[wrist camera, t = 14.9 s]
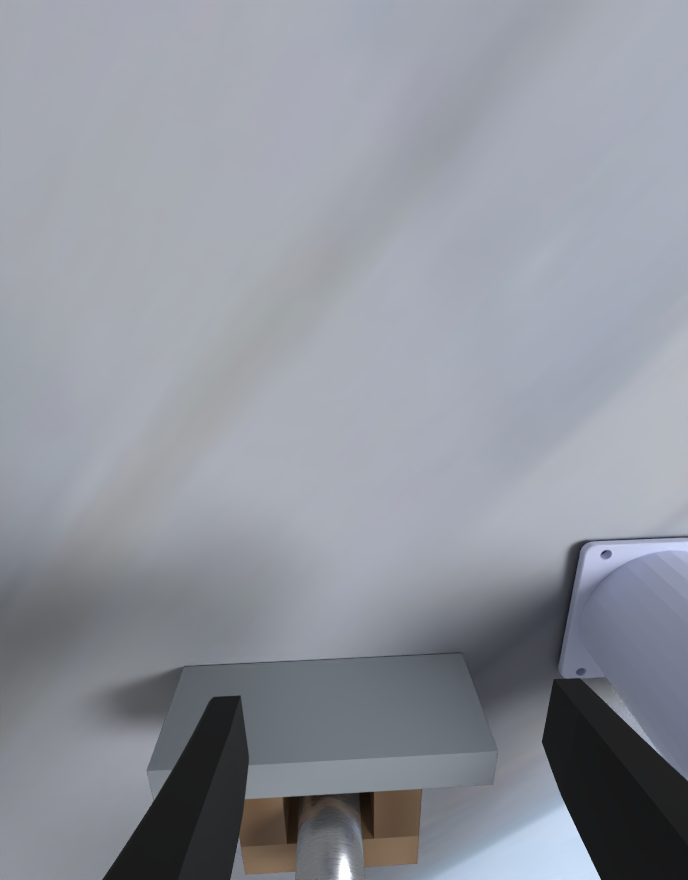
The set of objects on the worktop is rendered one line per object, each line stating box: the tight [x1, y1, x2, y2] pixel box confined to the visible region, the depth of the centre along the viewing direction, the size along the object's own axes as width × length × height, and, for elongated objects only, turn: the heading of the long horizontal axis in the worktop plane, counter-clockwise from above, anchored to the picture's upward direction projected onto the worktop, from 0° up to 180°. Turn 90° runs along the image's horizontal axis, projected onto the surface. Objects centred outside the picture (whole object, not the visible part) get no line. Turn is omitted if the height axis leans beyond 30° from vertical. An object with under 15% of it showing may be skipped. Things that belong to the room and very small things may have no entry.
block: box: [239, 789, 422, 875], centre depth 23 cm, size 9×9×3 cm
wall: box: [147, 653, 498, 800], centre depth 20 cm, size 14×2×5 cm, turn 91°
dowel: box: [295, 793, 365, 880], centre depth 21 cm, size 3×3×7 cm
